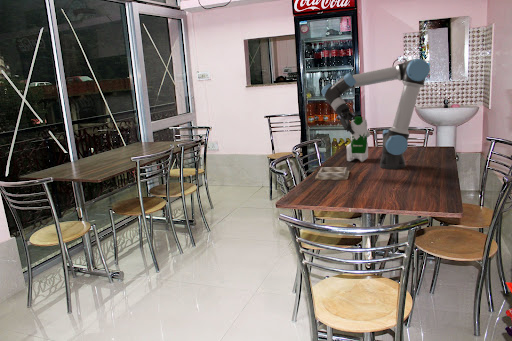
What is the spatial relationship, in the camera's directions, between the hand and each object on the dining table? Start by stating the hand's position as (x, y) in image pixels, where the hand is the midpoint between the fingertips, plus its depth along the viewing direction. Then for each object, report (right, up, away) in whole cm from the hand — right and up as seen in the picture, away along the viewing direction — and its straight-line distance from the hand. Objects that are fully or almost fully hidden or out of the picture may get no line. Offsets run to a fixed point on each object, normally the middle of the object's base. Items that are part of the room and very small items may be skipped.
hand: (363, 136), depth 238 cm
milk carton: (-1, -8, +4) cm, 10 cm away
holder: (-14, -22, +14) cm, 30 cm away
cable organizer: (+9, -12, +53) cm, 55 cm away
